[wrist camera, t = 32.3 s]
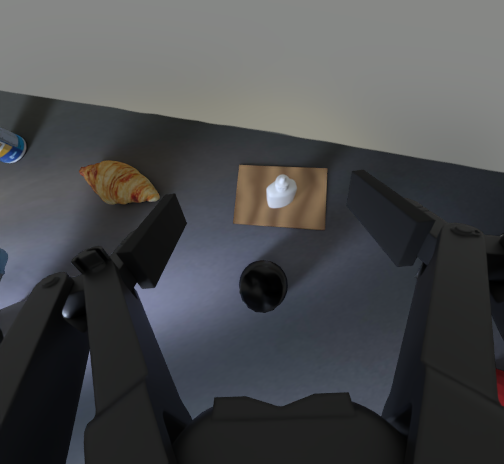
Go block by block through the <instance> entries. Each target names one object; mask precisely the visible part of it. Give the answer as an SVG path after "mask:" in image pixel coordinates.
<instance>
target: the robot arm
mask: <svg viewBox="0 0 504 464" xmlns="http://www.w3.org/2000/svg"><path fill="white" fill-rule="evenodd" d="M346 206H347V207H348V208H349V209H350V210H351V212H352V213H353V214H354V215H355V216H356V218H357V219H358V220H359V221H360V223H361V224H362V225H363V226H364V227H365V229H366V230H367V231H368V232H369V233H370V235H371V236H372V237H373V238H374V239H375V241H376V242H377V243H378V244H379V246H380V247H381V248H382V249H383V250H384V252H385V253H386V254H387V255H388V256H389V258H390V259H391V260H392V261H393V262H394V264H395V265H396V266H397V267H401V266H412V265H413V264H414V262H415V260H416V258H417V256H418V257H419V258H420V259H421V260H422V261H423V263H422V265H421V267H420V268H419V270H418V272H417V274H416V276H415V277H414V278H417V282H416V287H415V291H414V295H413V299H412V304H411V308H410V312H409V316H408V320H407V325H406V329H405V333H404V337H403V342H402V346H401V350H400V354H399V358H398V363H397V367H396V371H395V375H394V380H393V384H392V388H391V392H390V394H389V397H388V399H387V401H386V404H385V406H384V409H383V412H382V416H379V415H378V414H377V413H375V412H373V411H372V410H370V409H368V408H366V407H364V406H362V405H360V404H357V403H354V402H352V401H351V398H350V395H349V392H347V393H321V394H313V395H310V396H308V397H305V398H303V399H300V400H298V401H295V402H293V403H290V404H288V405H285V406H281V407H280V406H275V405H272V404H269V403H266V402H262V401H259V400H256V399H253V398H250V397H246V396H243V397H216V398H214V405H213V407H211V408H209V409H207V410H206V411H204V412H202V413H201V414H200V415H198V416H197V417H196V418H194V419H193V420H192V418H191V416H190V414H189V412H188V411H187V409H186V408H185V406H184V404H183V403H182V401H181V399H180V397H179V394H178V392H177V389H176V387H175V384H174V382H173V380H172V377H171V375H170V372H169V370H168V367H167V365H166V362H165V360H164V357H163V355H162V352H161V350H160V348H159V345H158V343H157V340H156V338H155V335H154V333H153V330H152V328H151V325H150V323H149V320H148V318H147V316H146V313H145V311H144V308H143V306H142V303H141V301H140V298H139V296H138V293H137V291H136V290H135V289H134V286H135V285H136V283H138V284H139V285H140V287H141V288H142V289H146V288H155V287H156V285H157V283H158V281H159V279H160V277H161V274H162V272H163V270H164V268H165V266H166V264H167V262H168V260H169V258H170V256H171V254H172V252H173V250H174V248H175V246H176V244H177V242H178V240H179V238H180V236H181V234H182V232H183V230H184V228H185V226H186V224H187V222H186V220H185V217H184V215H183V212H182V210H181V207H180V205H179V202H178V199H177V197H176V194H167V195H165V196H164V197H163V198H162V199H161V201H160V202H159V203H158V204H157V205H156V207H155V208H154V209H153V210H152V211H151V212H150V214H149V215H148V216H147V217H146V218H145V220H144V221H143V222H142V223H141V224H140V225H139V227H138V228H137V229H135V230H134V231H133V232H131V233H130V234H129V235H128V236H127V237H126V238H125V239H124V241H122V243H121V244H120V245H119V246H118V247H117V248H116V250H115V251H114V252H113V253H112V254H111V255H110V256H109V255H108V254H107V253H106V251H105V250H104V249H103V248H102V247H101V246H95V247H91V248H88V249H86V250H84V251H82V252H80V253H79V254H77V255H76V256H75V257H74V258H73V259H72V261H71V263H72V264H73V265H74V266H75V267H76V268H77V269H78V270H79V271H80V272H81V273H82V274H81V275H78V276H75V277H72V278H71V277H70V276H69V275H68V274H67V273H66V272H58V273H54V274H52V275H49V276H47V277H46V278H44V279H42V280H41V281H40V282H39V283H38V284H37V285H36V286H35V287H34V289H33V290H32V292H31V294H30V295H29V297H28V299H27V300H26V301H21V302H18V303H15V304H13V305H10V306H8V307H6V308H3V309H1V310H0V464H66V459H67V455H68V450H69V445H70V440H71V436H72V431H73V426H74V421H75V417H76V412H77V407H78V403H79V398H80V393H81V388H82V384H83V379H84V374H85V369H86V365H87V360H88V355H89V350H90V356H91V366H92V376H93V386H94V397H95V407H96V415H95V417H94V419H93V420H91V421H90V422H89V423H88V424H87V426H86V429H85V431H84V455H85V464H504V406H502V405H501V403H500V402H499V398H498V391H497V379H496V367H495V354H494V342H493V330H492V318H491V315H492V317H493V319H494V321H495V324H496V326H497V328H498V330H499V332H500V334H501V336H502V338H503V340H504V235H503V236H492V235H484V234H483V232H481V231H480V230H479V229H477V228H474V227H472V226H469V225H466V224H461V223H447V222H446V221H444V220H443V219H441V218H440V217H438V216H437V215H435V214H434V213H432V212H431V211H429V210H428V209H426V208H425V207H424V208H423V206H422V205H420V204H419V203H417V202H416V201H413V200H410V199H408V198H403V197H402V196H400V195H399V194H397V193H396V192H395V191H393V190H392V189H390V188H389V187H387V186H386V185H385V184H383V183H382V182H380V181H379V180H377V179H376V178H375V177H373V176H372V175H370V174H369V173H367V172H366V171H365V170H357V171H352V176H351V181H350V187H349V193H348V198H347V204H346ZM7 260H8V254H7V253H6V251H4V250H3V249H1V248H0V281H1V278H2V276H3V275H4V274H5V271H4V269H5V266H6V263H7ZM63 316H64V317H63Z"/></svg>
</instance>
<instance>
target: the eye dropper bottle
mask: <svg viewBox="0 0 504 464" xmlns="http://www.w3.org/2000/svg"><path fill="white" fill-rule="evenodd" d="M296 190H297V186H296V183H295V181H294V180H293V179H289V177H288V176H286V175H284V174H283V175H279V176H278V177H277V178H276V181H275V182H273V183H271V184H270V185H269V186H268V187H267V189H266V193H267V202H268V206H269V207H270V208H281V207H284V206H287V205H288V204H290V203H291V202H292V201H293V199H294V196H295V193H296Z"/></svg>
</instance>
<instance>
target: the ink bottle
mask: <svg viewBox="0 0 504 464" xmlns="http://www.w3.org/2000/svg"><path fill="white" fill-rule="evenodd" d="M239 288H240V294H241V298H242V301H243V302H244V303H245V304H246V306H247V307H248V308H250V309H252V310H253V311H255V312H263V313H266V312H268V311H271V310H274V309H275V308H276V307H277V306H278V305H280V304H281V302H282V301H283V300H284V298H285V296H286V293H287V288H288V283H287V278H286V275H285V273H284V271H283V270H282V269H281V267H280V266H278V265H277V264H275V263H273V262H271V261H266V260H260V261H255V262H253V263H251V264H249V265H248V266H247V267H246V268H245V269H244V271H243V272H242V274H241V277H240V282H239Z"/></svg>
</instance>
